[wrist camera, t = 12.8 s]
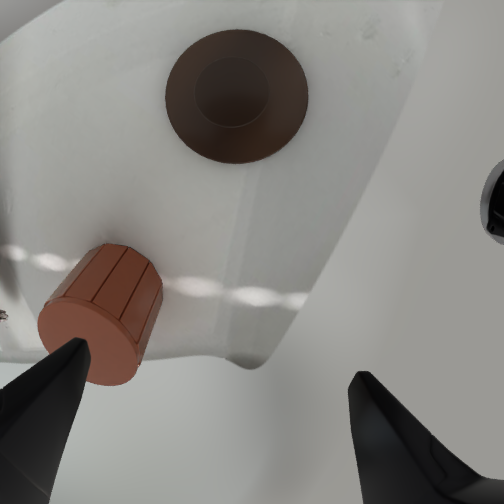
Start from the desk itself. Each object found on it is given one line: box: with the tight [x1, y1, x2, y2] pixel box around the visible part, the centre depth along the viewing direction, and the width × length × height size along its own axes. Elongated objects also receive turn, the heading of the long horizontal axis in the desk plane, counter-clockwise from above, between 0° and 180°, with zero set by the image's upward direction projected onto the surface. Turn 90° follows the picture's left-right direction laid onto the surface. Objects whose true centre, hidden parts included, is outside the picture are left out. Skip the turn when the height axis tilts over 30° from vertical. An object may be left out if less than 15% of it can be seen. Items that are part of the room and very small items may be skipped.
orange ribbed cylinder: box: [38, 244, 163, 386], centre depth 19 cm, size 7×7×7 cm
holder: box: [165, 29, 308, 164], centre depth 14 cm, size 8×8×6 cm
